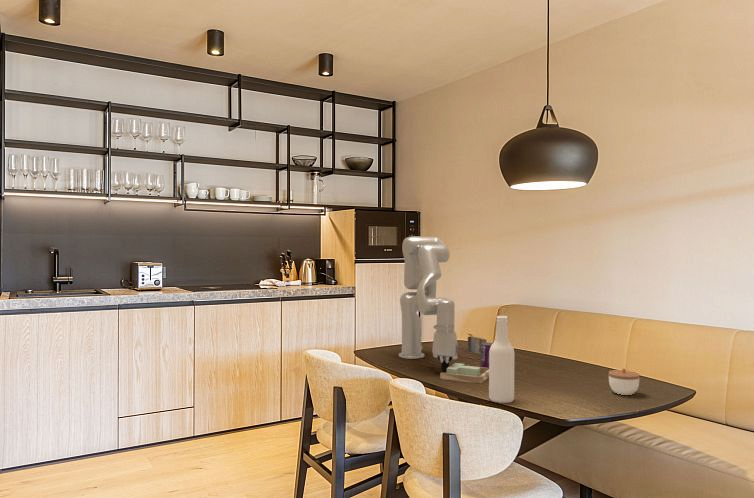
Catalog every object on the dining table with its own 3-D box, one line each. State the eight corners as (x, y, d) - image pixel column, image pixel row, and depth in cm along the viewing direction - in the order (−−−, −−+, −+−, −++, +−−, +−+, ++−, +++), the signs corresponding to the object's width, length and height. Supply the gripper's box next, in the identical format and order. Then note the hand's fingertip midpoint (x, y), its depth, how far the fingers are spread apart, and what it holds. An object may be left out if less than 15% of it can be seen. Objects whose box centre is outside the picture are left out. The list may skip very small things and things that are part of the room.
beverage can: (496, 373, 246) (496, 345, 246) (479, 372, 248) (480, 344, 248) (496, 369, 253) (496, 342, 253) (480, 368, 255) (480, 342, 254)
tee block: (474, 381, 233) (474, 371, 233) (446, 378, 238) (446, 368, 238) (482, 374, 243) (482, 365, 243) (455, 372, 249) (455, 362, 249)
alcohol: (491, 403, 200) (492, 318, 200) (486, 396, 209) (487, 314, 209) (516, 403, 201) (517, 318, 200) (510, 396, 209) (511, 314, 209)
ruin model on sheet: (466, 351, 297) (467, 332, 297) (471, 351, 298) (471, 332, 298) (481, 355, 287) (482, 336, 287) (486, 354, 289) (486, 335, 289)
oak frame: (454, 370, 252) (454, 364, 252) (492, 374, 245) (492, 368, 245) (440, 379, 236) (440, 373, 236) (481, 383, 228) (481, 377, 228)
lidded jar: (646, 396, 210) (646, 371, 210) (621, 398, 207) (621, 372, 207) (625, 389, 221) (625, 364, 220) (602, 391, 218) (602, 366, 217)
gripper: (425, 328, 244) (425, 371, 244) (459, 331, 237) (459, 375, 238) (431, 326, 251) (431, 368, 251) (465, 328, 244) (464, 371, 244)
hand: (445, 371), depth 244 cm, fingers closed
